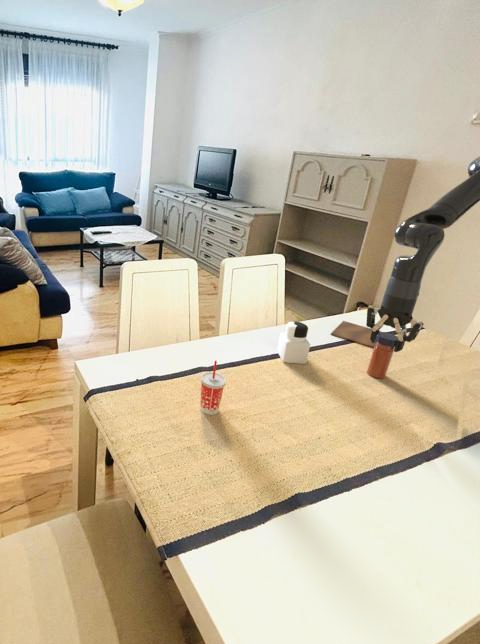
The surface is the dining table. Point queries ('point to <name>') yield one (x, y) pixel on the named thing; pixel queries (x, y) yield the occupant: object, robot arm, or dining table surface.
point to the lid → (386, 338)
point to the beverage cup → (211, 391)
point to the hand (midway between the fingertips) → (385, 346)
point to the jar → (380, 360)
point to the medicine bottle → (294, 343)
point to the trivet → (354, 333)
